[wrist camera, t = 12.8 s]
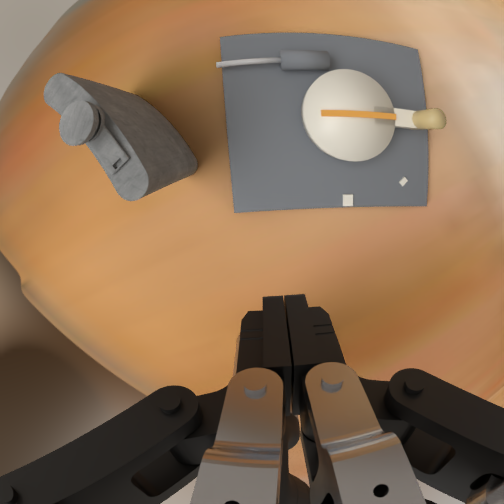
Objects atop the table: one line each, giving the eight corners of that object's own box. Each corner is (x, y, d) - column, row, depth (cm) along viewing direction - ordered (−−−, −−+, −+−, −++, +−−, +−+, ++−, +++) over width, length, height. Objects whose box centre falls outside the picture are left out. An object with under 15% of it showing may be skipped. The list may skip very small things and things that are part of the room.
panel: (422, 204, 36) (427, 206, 35) (235, 210, 38) (234, 213, 37) (413, 51, 27) (418, 49, 26) (221, 40, 29) (219, 36, 28)
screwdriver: (325, 48, 27) (330, 54, 26) (324, 66, 30) (329, 73, 28) (216, 52, 28) (214, 58, 26) (218, 70, 30) (217, 78, 29)
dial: (304, 161, 33) (315, 164, 27) (296, 72, 29) (304, 56, 22) (420, 162, 32) (447, 167, 26) (414, 82, 28) (440, 74, 21)
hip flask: (118, 106, 33) (22, 92, 14) (137, 86, 31) (47, 54, 13) (185, 180, 37) (116, 217, 18) (207, 161, 36) (152, 177, 17)
